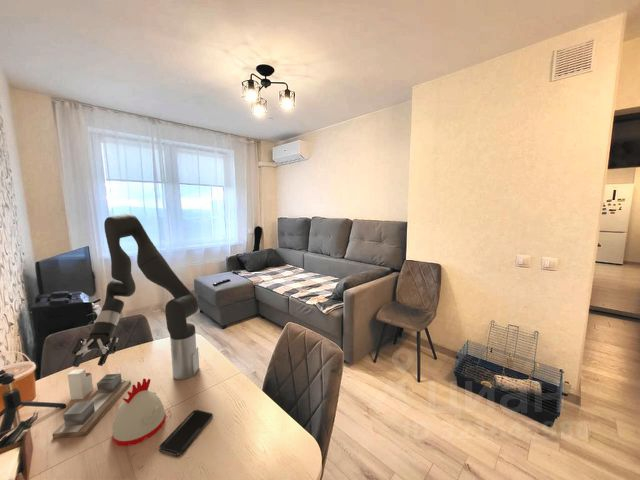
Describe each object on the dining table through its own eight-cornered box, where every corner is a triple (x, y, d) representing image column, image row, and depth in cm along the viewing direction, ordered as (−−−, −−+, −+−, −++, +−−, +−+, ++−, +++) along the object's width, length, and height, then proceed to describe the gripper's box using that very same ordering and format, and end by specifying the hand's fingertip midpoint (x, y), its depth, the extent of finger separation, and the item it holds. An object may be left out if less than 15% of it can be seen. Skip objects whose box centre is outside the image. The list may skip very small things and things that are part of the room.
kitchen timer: (175, 415, 87) (172, 374, 85) (133, 452, 74) (129, 405, 72) (145, 404, 91) (142, 365, 89) (101, 437, 79) (96, 392, 77)
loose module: (93, 389, 99) (90, 364, 97) (83, 398, 94) (79, 373, 92) (81, 389, 98) (78, 365, 97) (70, 399, 93) (67, 374, 92)
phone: (157, 448, 74) (194, 409, 89) (157, 451, 74) (194, 411, 89) (179, 455, 72) (214, 414, 87) (180, 459, 72) (214, 417, 87)
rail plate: (130, 383, 102) (129, 369, 101) (85, 435, 79) (83, 417, 78) (106, 385, 100) (104, 370, 100) (52, 438, 78) (50, 419, 77)
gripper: (81, 321, 105) (60, 365, 95) (119, 320, 106) (102, 362, 96) (92, 327, 111) (73, 369, 101) (128, 326, 112) (113, 367, 102)
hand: (87, 366), depth 99 cm, fingers open, 8 cm apart
